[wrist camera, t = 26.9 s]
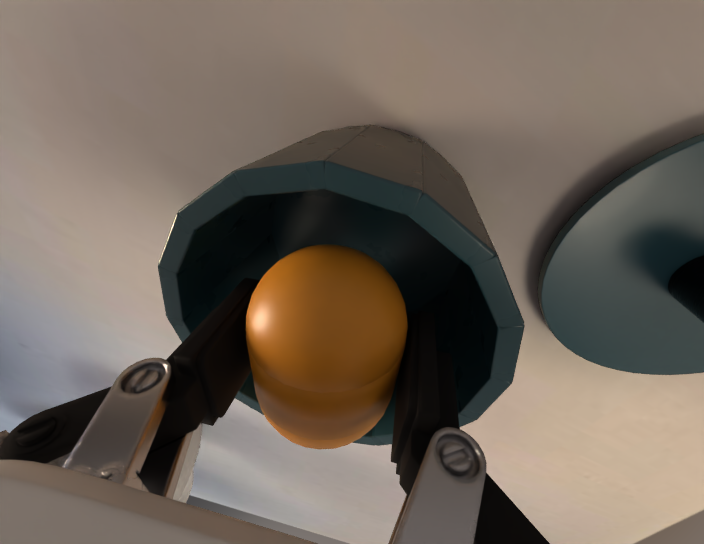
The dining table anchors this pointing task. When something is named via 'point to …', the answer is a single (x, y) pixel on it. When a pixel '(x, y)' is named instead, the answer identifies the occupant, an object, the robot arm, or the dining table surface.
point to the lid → (634, 269)
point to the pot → (362, 234)
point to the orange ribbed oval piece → (325, 344)
